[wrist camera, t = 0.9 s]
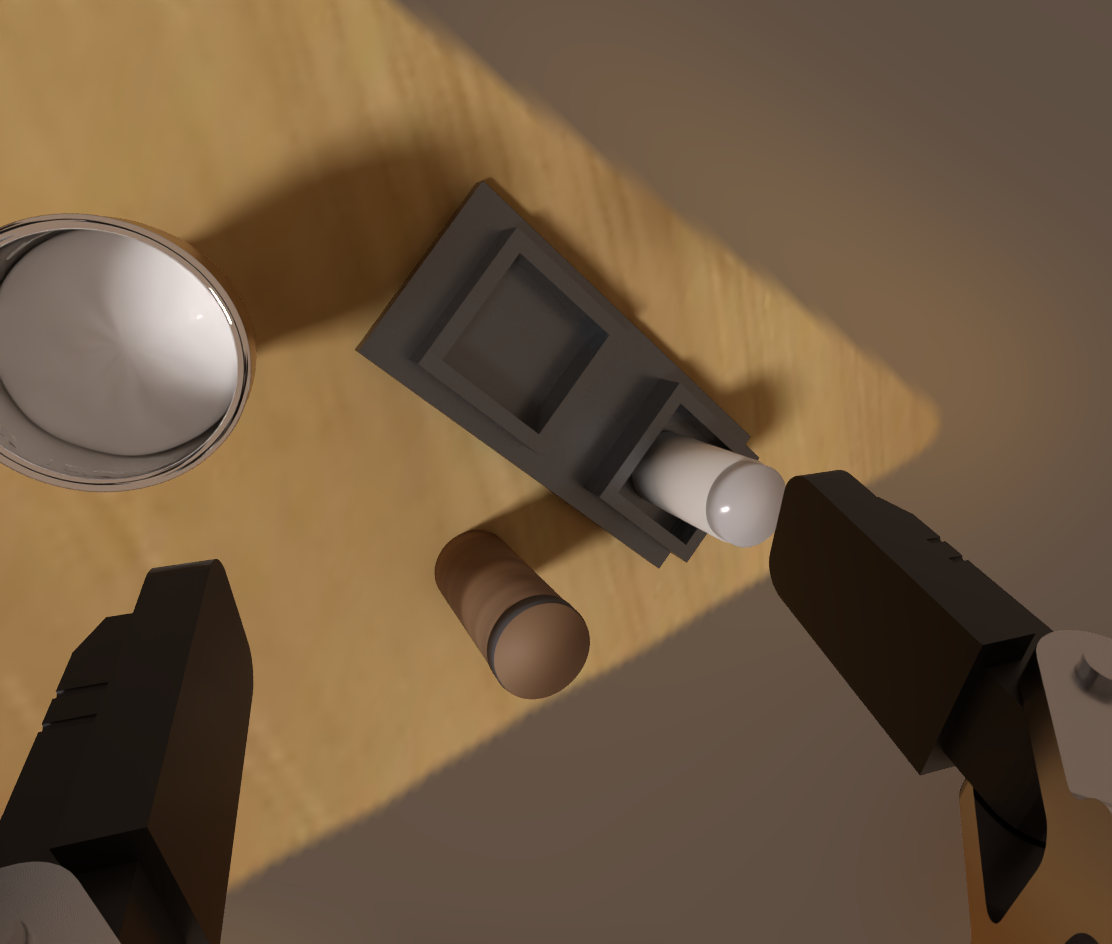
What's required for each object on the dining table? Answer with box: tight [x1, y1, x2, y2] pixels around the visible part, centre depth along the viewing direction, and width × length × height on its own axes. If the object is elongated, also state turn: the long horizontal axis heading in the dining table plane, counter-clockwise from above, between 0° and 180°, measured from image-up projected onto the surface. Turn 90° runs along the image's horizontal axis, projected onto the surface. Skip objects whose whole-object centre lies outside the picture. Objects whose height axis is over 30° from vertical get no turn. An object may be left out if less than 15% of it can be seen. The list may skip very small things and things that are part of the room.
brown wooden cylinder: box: [435, 530, 590, 699], centre depth 34 cm, size 4×4×10 cm
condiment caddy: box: [355, 181, 759, 568], centre depth 37 cm, size 22×10×3 cm, turn 53°
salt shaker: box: [632, 432, 786, 547], centre depth 37 cm, size 4×4×8 cm
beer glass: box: [0, 213, 257, 492], centre depth 23 cm, size 7×7×15 cm
